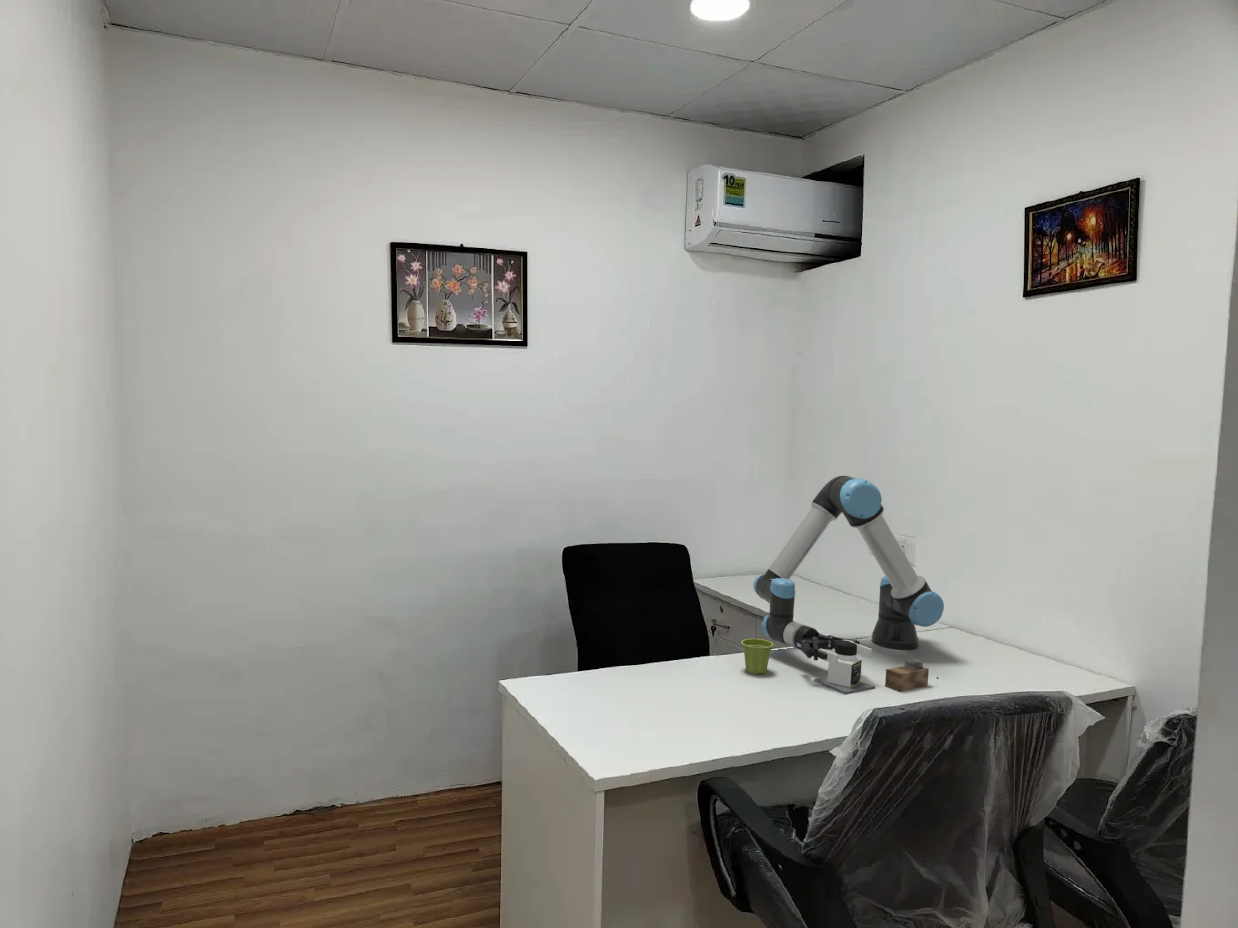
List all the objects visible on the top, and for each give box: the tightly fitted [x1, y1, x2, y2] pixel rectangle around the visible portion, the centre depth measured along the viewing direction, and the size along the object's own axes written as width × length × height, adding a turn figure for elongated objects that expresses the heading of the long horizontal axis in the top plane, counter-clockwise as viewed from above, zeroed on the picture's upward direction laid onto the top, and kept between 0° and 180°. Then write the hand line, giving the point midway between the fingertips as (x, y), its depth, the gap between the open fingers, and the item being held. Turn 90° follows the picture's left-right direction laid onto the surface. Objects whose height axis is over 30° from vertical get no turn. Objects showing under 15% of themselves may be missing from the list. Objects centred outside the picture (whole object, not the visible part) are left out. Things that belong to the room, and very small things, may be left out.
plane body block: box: [884, 658, 930, 693], centre depth 241 cm, size 12×5×7 cm, turn 120°
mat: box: [813, 676, 876, 695], centre depth 241 cm, size 12×12×1 cm
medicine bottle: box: [827, 639, 863, 688], centre depth 240 cm, size 7×7×12 cm
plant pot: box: [741, 638, 774, 675], centre depth 249 cm, size 9×9×9 cm
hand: (854, 656), depth 237 cm, fingers open, 13 cm apart
